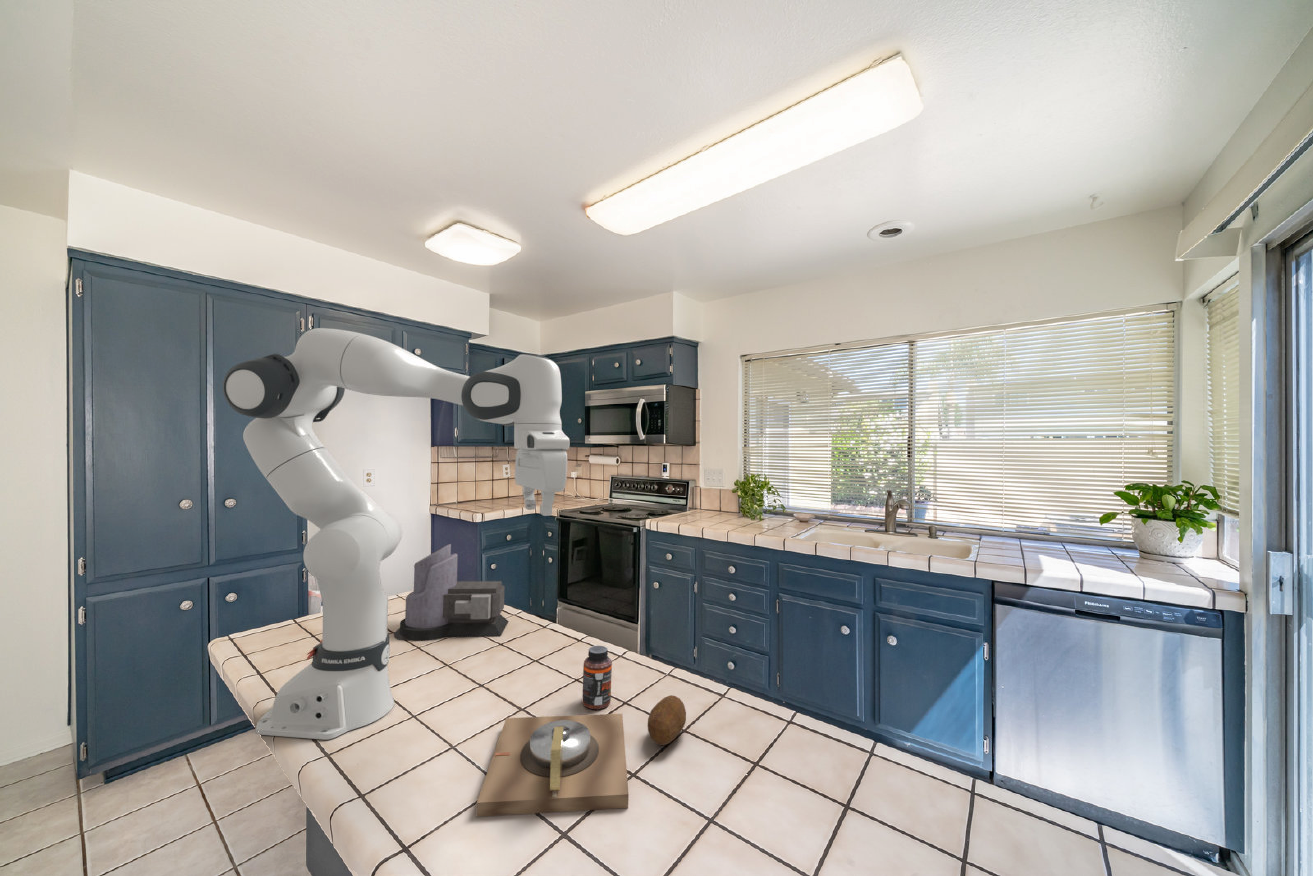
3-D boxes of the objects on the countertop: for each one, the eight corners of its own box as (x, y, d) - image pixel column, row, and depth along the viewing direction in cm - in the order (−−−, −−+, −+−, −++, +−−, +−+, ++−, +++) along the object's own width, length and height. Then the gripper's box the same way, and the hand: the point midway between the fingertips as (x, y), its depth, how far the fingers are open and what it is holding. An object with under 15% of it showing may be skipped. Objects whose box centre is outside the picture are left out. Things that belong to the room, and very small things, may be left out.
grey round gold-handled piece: (534, 732, 87) (535, 698, 87) (590, 730, 89) (591, 697, 89) (520, 792, 72) (521, 751, 73) (588, 788, 74) (589, 748, 74)
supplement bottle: (605, 712, 99) (607, 656, 99) (578, 709, 100) (579, 653, 100) (614, 698, 105) (615, 644, 105) (587, 694, 106) (589, 642, 106)
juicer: (384, 642, 131) (386, 550, 131) (408, 620, 147) (410, 539, 147) (498, 640, 134) (501, 550, 135) (510, 619, 150) (512, 539, 151)
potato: (639, 753, 86) (640, 713, 86) (656, 718, 97) (657, 683, 98) (677, 760, 85) (678, 720, 85) (690, 724, 96) (690, 688, 96)
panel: (476, 816, 71) (476, 801, 71) (505, 728, 93) (506, 717, 93) (628, 807, 73) (628, 793, 73) (622, 724, 95) (622, 712, 95)
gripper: (507, 440, 101) (506, 507, 101) (538, 439, 83) (538, 520, 83) (537, 440, 104) (536, 505, 104) (573, 439, 87) (573, 517, 86)
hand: (537, 512), depth 93 cm, fingers open, 8 cm apart
